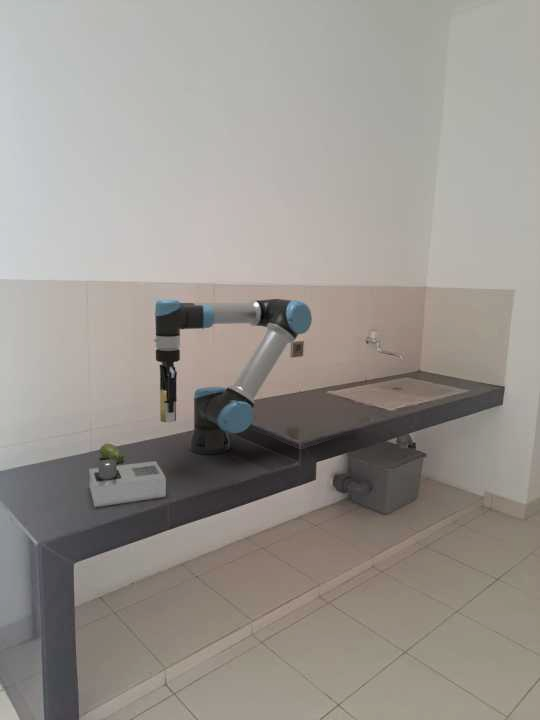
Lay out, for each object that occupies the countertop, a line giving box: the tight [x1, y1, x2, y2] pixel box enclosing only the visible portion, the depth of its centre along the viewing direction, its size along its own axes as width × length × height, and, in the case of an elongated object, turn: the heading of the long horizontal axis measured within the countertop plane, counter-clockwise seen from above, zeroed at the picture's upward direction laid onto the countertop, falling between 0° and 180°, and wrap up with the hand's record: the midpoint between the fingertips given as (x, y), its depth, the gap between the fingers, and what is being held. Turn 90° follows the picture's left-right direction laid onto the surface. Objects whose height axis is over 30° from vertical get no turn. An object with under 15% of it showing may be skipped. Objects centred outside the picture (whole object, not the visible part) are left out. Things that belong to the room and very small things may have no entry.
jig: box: [88, 459, 167, 508], centre depth 156 cm, size 20×14×10 cm
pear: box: [98, 443, 124, 464], centre depth 182 cm, size 6×5×10 cm
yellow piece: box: [159, 389, 177, 423], centre depth 170 cm, size 5×5×10 cm
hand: (168, 419), depth 171 cm, fingers closed on yellow piece, 5 cm apart
